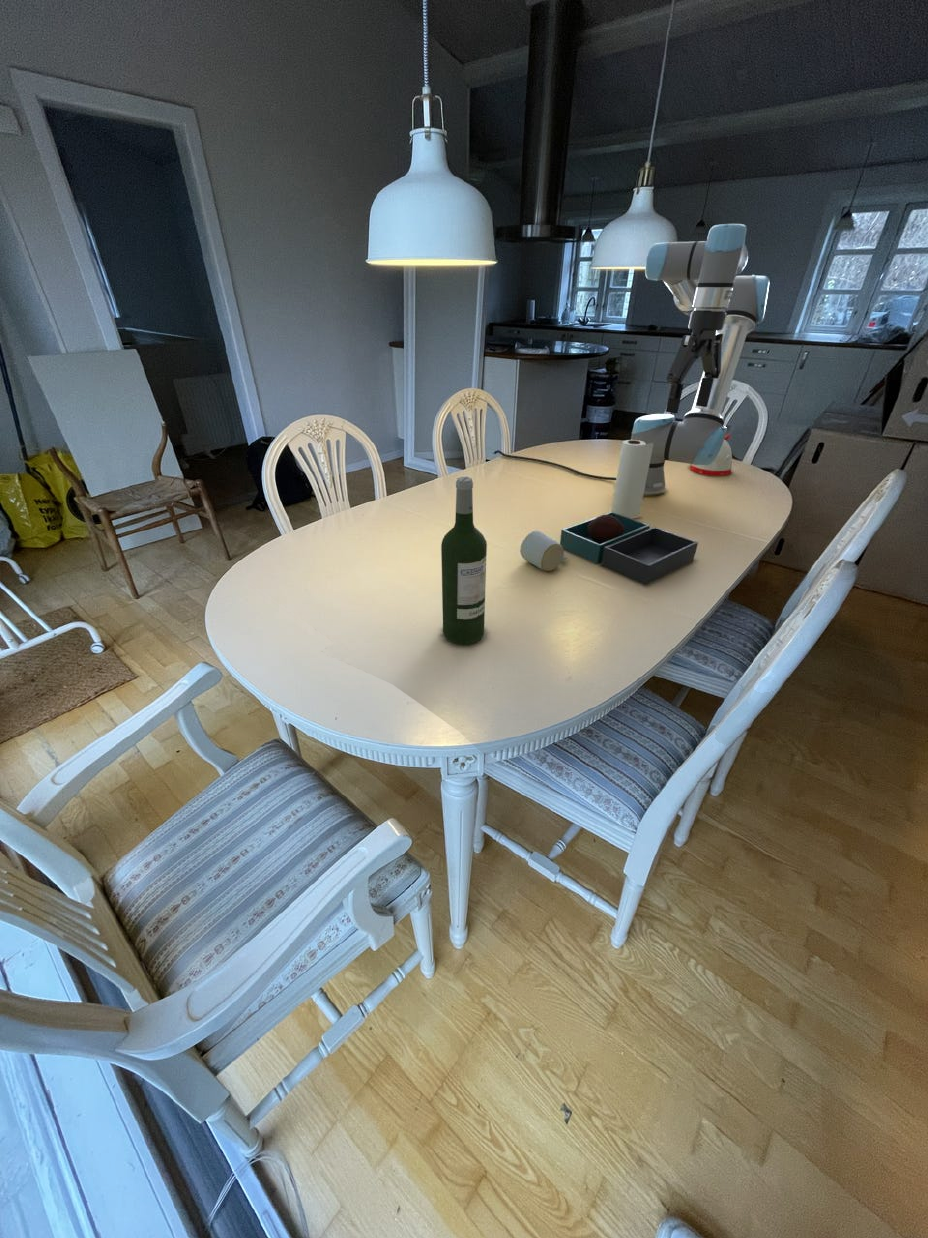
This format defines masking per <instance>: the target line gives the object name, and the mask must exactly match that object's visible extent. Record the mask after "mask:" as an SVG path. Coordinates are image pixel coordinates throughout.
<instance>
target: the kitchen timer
mask: <svg viewBox="0 0 928 1238" xmlns="http://www.w3.org/2000/svg"><path fill="white" fill-rule="evenodd" d="M727 433H728V432H727ZM727 433H726V436H725V439H724V442H723V444H722V447H721V449H720V451H719V453H718V455H717V457H716V458H715V460H714V461H713V462H712V463H711V464H710V465H707V466H704V465H693V464H690V465H689V469H690V471H692V472H695V473H696V474H701V475H707V476H713V477H714V476H716V477H717V476H719V477H720V476H727V475H730V474H731V470H732V468H733V454H732V449H731V447H730V444H729V442H728V439H729V437H730V436H731V433H728V434H727Z"/></svg>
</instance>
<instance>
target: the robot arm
mask: <svg viewBox="0 0 928 1238" xmlns="http://www.w3.org/2000/svg"><path fill="white" fill-rule="evenodd" d="M747 231H748V228H747V225H745V224H742V223H724V224H723V223H722V224H715V225H713V226H712V227H710V229H709V231H708V234H707V238H706V240H699V241H664V242H656V243H653V244H652V245H650V248H649V249H648V252H647V254H646V255H647V256H646V260H645V266H644V267H645V268H644V273H645V277H646V279H647V280H649V281H655V282H657V281H662V282H663V283H664V284H665V286H666V287H667V289H668V290H669V291H670V292H671V294H672V295H673V302H674V305H675V306H676V308H677V309H678V310H679V311H680V312H681V313H683V314H684V315H686V316H687V317H689V322H688V330H691V331H692V332H691V334H690V335H689V334H683V336H682V340H681V343H680V346H679V349H678V350H677V353H676V355H675V357H674V359H673V362H672V364H671V367H670V369H669V371H668V374H667V375H666V381H667V383H670V388H669V395H668V399H667V403H666V408H665V412H666V413H655V414H647V415H642V416H640V417H638V418H636V419H635V421H634V423H633V427H632V431H631V437H630V440H638V441H643V442H645V443H646V444H650V443H654V444H653V449H652V454H651V459H650V464H649V469H648V474H647V479H646V484H645V489H644V494H643V497H654V496H660V495H663V494H664V493H665V491H666V477H665V464H666V461H669V462H675V463H681V464H686V465H687V464H689V465H691V464H693V465H704V466H707V465H710V464H711V463H712V462H713V461H714V460H715V458H716V457H717V455H718V453H719V451H720V449H721V447H722V444H723V442H724V439H725V437H726V436H727V434H726V433H728V428H727V427H726V426H725V425H724V424H725V419H724V416H722V413H723V410H724V406H725V405H726V400H727V397H728V395H729V391H730V388H731V385H732V382H733V379H734V376H735V373H736V369H737V367H738V363H739V361H740V357H741V355H742V352H743V351H742V350H743V348H744V344H745V341H746V339H747V335H749V334H750V333H753V332H754V330H755V329H756V324H761V323H763V321H764V318H765V312H766V306H767V302H768V301H767V300H768V296H769V295H768V294H769V288H770V279H769V277H768V276H766V275H755V274H752V275H740V274H741V273H742V272H743V270H744V269H745V267H746V266H747V263H748V259H749V251H748V248H747V245H746V244H745V243H746V235H747ZM699 358H701V363H702V370H703V372H702V375H701V377H700V381H699V385H698V388H697V390H696V394H695V396H694V397H695V398H694V401H693V404H692V407H691V410H689V411H688V412H686V413H685V414H684V415H683V418H682V421H677V420H676V417H675V415H674V414H678V412H679V408H680V404H681V399H682V393H683V389H684V385H685V384H684V383H683V381H684V380H685V378H686V376H687V374H689V371H690V370H691V369H692V367H693V365H694V363H695V361H696V360H698V359H699ZM668 413H670V414H668ZM497 454H500V455H501V456H503V457H506V458H510V459H518V460H524V461H531V462H537V463H543V464H546V465H551V466H554V467H558V468H561V469H564V470H567V471H569V472H573V473H575V474H577V475H580V476H582V477H587V478H592V479H598V480H604V481H616V478H617V477H614V476H613V477H612V476H601V475H595V474H589V473H587V472H586V473H585V472H582V471H579V470H577V469H574V468H571V467H568V466H566V465H563V464H561V463H560V464H559V463H556V462H552V461H549V460H543V459H538V458H533V457H527V456H520V455H511V454H506V453H504V452H503V451H501V450H499V449H497V450H495V451H493V455H497Z"/></svg>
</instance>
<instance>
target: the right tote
mask: <svg viewBox="0 0 928 1238" xmlns="http://www.w3.org/2000/svg"><path fill="white" fill-rule="evenodd" d="M698 545H699V542H698V541H696V540H693V539H690V538H687V537H685V536H681V535H680V534H676V533H674V532H671V531H668V530H665V529H661V528H659V527H656V526H652V527H650V528H649V529H648V530H645V531H643V532H640V533H638V534H636V535H633V536H631V537H628V538H626V539H623V540H621V541H619V542H616V543H614V544H611V545H609V546H606V547H604V552H603V558H602V562H601V565H600V566H601V567H602V568H605V569H607V570H610V571H611V572H613V573H616V574H618V575H620V576H622V577H625V578H627V579H630V580H632V581H634V582H636V583H638V584H641V585H643V586H647V585H648V584H650V583H652V582H654V581H656V580H658V579H660V578H662V577H664V576H666V575H668V574H669V573H671V572H674V571H676V570H678V569H679V568H682V567H683V566H685V565H687V564H689V563H692V562H694V559H695V556H696V551H697V549H698Z"/></svg>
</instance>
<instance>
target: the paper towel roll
mask: <svg viewBox="0 0 928 1238" xmlns="http://www.w3.org/2000/svg"><path fill="white" fill-rule="evenodd" d="M653 444H654V443H650V444H646V443H645V442H643V441H638V440H631V439H625V440H623V441H622V442H621V448H620V453H619V454H620V455H619V459H618V466H617V472H616V477H615V478H616V480H615V484H614V491H613V495H612V496H613V497H612V502H611V508H610V512H614V513H617V514H619V515H622V516H625V517H628V518H631V519H635V518H639V517H640V513H641V508H642V504H643V499H644V496H643V494H644V489H645V484H646V479H647V474H648V469H649V464H650V459H651V454H652V449H653Z"/></svg>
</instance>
